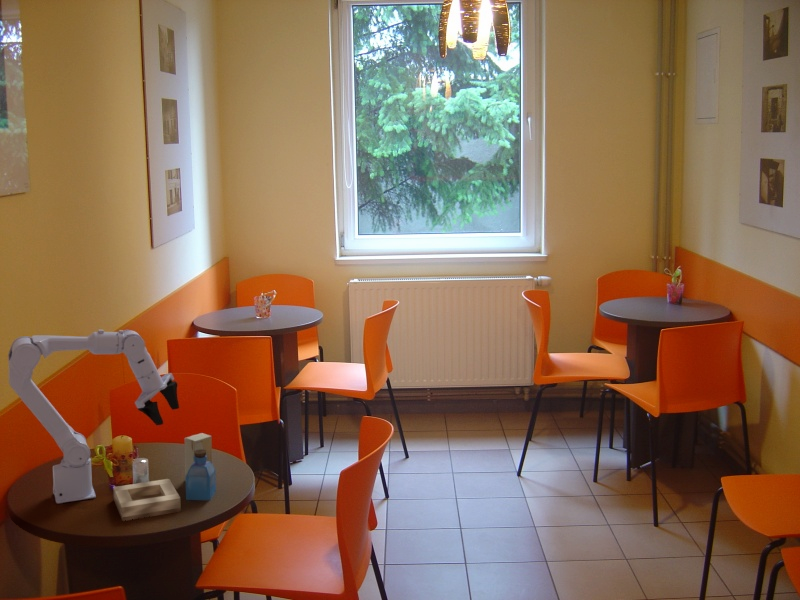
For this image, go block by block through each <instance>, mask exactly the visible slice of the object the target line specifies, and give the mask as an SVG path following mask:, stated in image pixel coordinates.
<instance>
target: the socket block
mask: <svg viewBox="0 0 800 600" xmlns="http://www.w3.org/2000/svg"><path fill="white" fill-rule="evenodd" d="M112 489H113V501H114V503H115V506H116V508H117V511H118V513H119V516H120V519H121V521H122V522H126V521H132V519H133V520H137V519H138V518H139V519H144V517H145V518H149V516H150V517H156V516H161V515H166V514H167V515H168V514H174V513H179V512H181V511H182V506H181V496H180V495H179V493H178V491H177V490H176V488H175V486H174V485H173V483H172V482H171V479H170V478H165V479H158V480H151V481H150V480H149V482H143V483H137V484H133V483H132V484H125V485H118V486H113V488H112ZM125 520H126V521H125Z"/></svg>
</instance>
